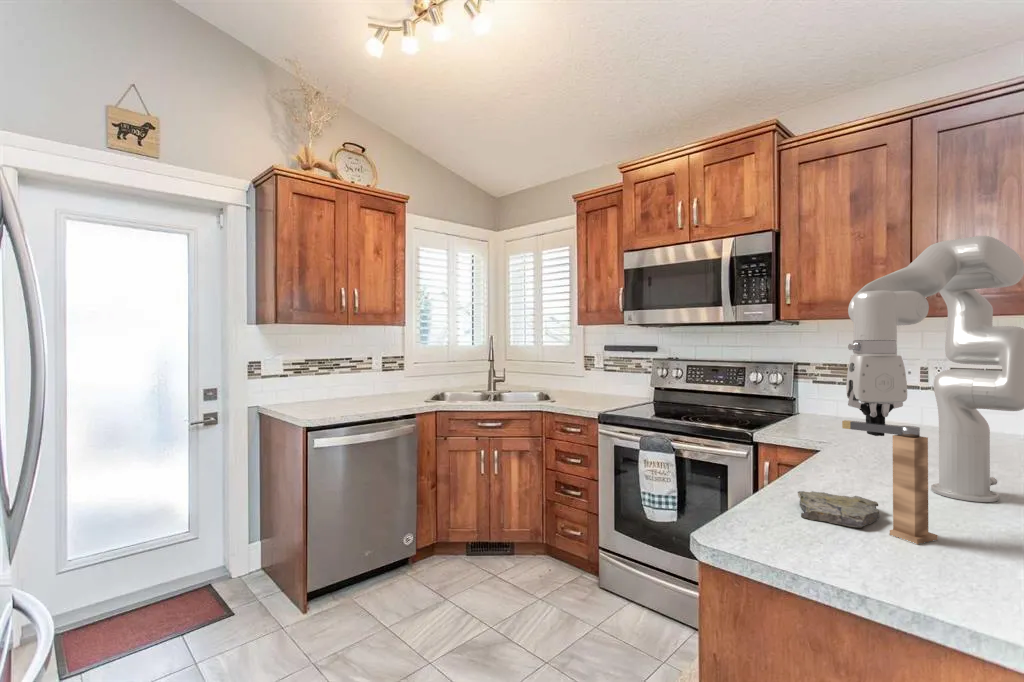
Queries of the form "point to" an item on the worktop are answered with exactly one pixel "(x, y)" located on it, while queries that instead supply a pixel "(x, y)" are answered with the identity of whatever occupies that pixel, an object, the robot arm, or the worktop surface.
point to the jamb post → (910, 489)
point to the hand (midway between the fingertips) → (875, 434)
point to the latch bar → (882, 428)
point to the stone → (838, 509)
